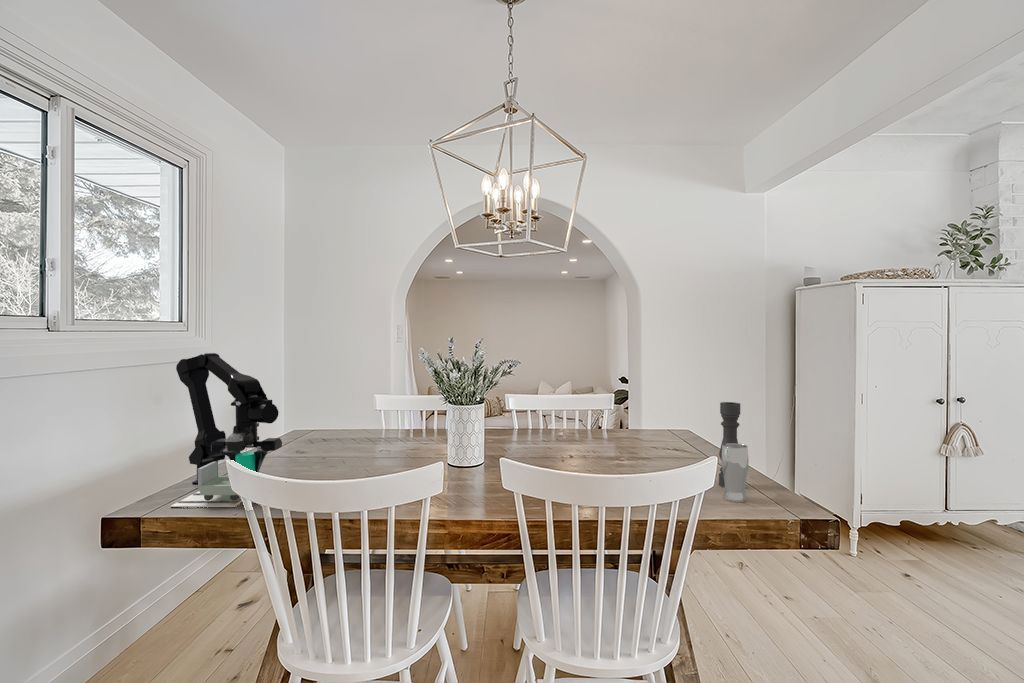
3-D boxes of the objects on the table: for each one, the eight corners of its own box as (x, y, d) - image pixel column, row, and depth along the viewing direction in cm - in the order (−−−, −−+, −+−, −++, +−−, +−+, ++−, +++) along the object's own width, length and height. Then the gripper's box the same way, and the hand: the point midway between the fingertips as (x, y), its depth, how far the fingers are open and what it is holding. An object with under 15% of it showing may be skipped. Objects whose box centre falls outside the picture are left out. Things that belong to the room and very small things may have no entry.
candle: (249, 492, 159) (248, 451, 159) (231, 491, 160) (230, 450, 160) (262, 486, 165) (261, 446, 164) (245, 485, 166) (244, 446, 166)
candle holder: (743, 485, 165) (744, 403, 165) (736, 489, 160) (737, 405, 160) (723, 481, 169) (723, 401, 169) (715, 485, 165) (716, 403, 164)
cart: (215, 490, 156) (215, 460, 156) (254, 490, 156) (254, 460, 156) (196, 501, 146) (195, 469, 146) (237, 501, 146) (237, 469, 146)
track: (198, 493, 158) (198, 490, 158) (257, 493, 158) (256, 490, 158) (170, 507, 145) (170, 505, 145) (234, 507, 145) (234, 504, 145)
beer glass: (748, 497, 153) (748, 444, 153) (747, 504, 147) (748, 449, 147) (722, 494, 156) (722, 442, 156) (720, 500, 150) (720, 446, 150)
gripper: (199, 426, 154) (200, 481, 154) (266, 425, 154) (267, 480, 154) (220, 419, 165) (221, 471, 165) (282, 419, 165) (283, 470, 165)
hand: (247, 473), depth 162 cm, fingers closed on candle, 5 cm apart
